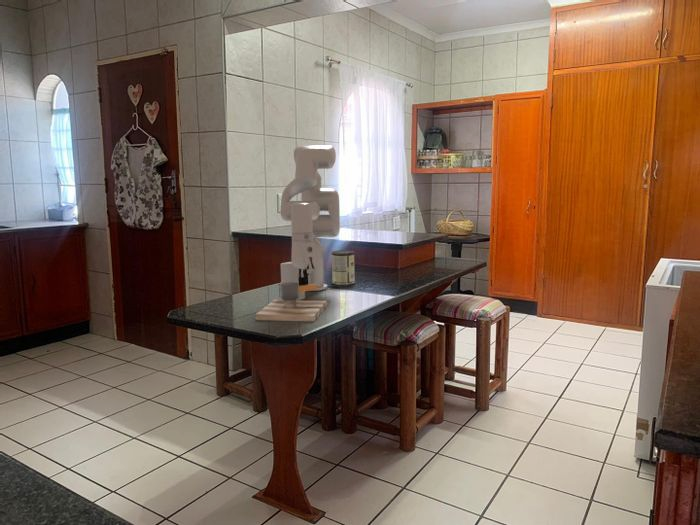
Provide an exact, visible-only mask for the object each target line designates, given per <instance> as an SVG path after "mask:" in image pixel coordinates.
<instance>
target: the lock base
mask: <svg viewBox="0 0 700 525" xmlns="http://www.w3.org/2000/svg"><path fill="white" fill-rule="evenodd" d="M327 306H328V303H327V300H314V299H313V300H307V299H306V300H305V299H301V300H296V299H294V300H282V299H273V300H272V301H271V302H269V303H268V304H267V305H266V306H264V307H263V308H262V309H261V310H259V311H257V312H256V314H255V320H256V321H275V322H276V321H277V322H279V321H280V322H281V321H283V322H286V321H287V322H313V323H314V322H315V321H316V320H317V319H318V317H319V316H320V315H321V314H322V312H323V311H324V310H325V309H326V307H327Z"/></svg>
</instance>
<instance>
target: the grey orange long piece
mask: <svg viewBox="0 0 700 525" xmlns="http://www.w3.org/2000/svg"><path fill="white" fill-rule="evenodd" d="M311 290H317V284H315V283H314V284H307V285H300V286H298V283H294V282H288V283H282V284H281V283H280V296H281V297H280V300H282V299H284V300H294V299H298V292H305V293H306V292H312V291H311Z"/></svg>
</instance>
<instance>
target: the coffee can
mask: <svg viewBox="0 0 700 525" xmlns="http://www.w3.org/2000/svg"><path fill="white" fill-rule="evenodd" d="M331 270H332V271H331V272H332V273H331V275H332V277H331V278H332V284H333V285H339V286H340V285H341V286H342V285H343V286H344V285H347V286H348V285H353V284H355V283H356V282H355V277H356V275H355V251H354V250H348V249H344V250H343V249H342V250H341V249H340V250H334V251H331Z"/></svg>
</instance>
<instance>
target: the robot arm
mask: <svg viewBox="0 0 700 525" xmlns="http://www.w3.org/2000/svg"><path fill="white" fill-rule="evenodd" d="M336 158H337V154H336V149H335V148H334V146H333V145H301V146H300V145H299V146H297V147H296V148H294V149H293V159H294V163H295V172H294V173H295V175H294V178H293V179H292V181H290V182H289V183H288V184H287V185H286V187H285V188H284V189H283V192H282V193H281V198H280V199H281V201H280V216H281V218H282V220H283V221H285V222H290V223H291V224H290V225H291V226H290V227H291V229H290V230H291V254H290V255H291V257H290V258H291V262H292V266H293V267H294V269H295V270H296V271H297V275H298V280H299V286H300V285H307V284H314V283H315V284H317V290H311V291H310V292H317V291H325V290H327V289H328V288H329V287H328V284H326V283H325V272H324V270H325V268H324V267H325V266H324V263H325V262H324V261H325V260H324V247H323V244H322V243H321V242H320V241H319V239H318V238H334V237H337V236H338V235H339V234H340V229H341V226H340V225H341V222H340V219H341V218H340V216H341V215H340V196H339V193H338V191H337V190H336V189H334V188H323V187H322V176H321V175H320V173H319V172H318V170H319V169H320V170H322V169H323V170H328V169H329V170H331V169H332V168H333V167H334V165H335V163H336ZM299 194H301V195H300V196H301V200H292V199H293V198H295V196H297V195H299ZM321 212H326V213H327V212H328V214H321Z"/></svg>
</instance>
